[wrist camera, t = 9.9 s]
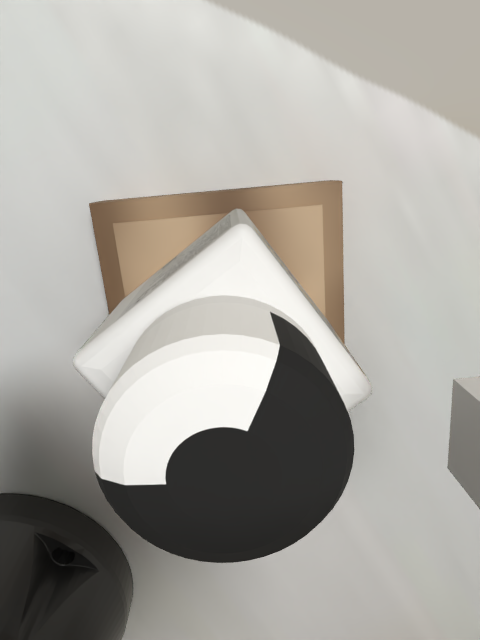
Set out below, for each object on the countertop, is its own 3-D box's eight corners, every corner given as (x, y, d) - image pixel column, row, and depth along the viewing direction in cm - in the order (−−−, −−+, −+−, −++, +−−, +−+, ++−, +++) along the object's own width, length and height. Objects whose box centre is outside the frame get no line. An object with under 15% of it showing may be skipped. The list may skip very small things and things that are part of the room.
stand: (138, 404, 27) (129, 427, 25) (103, 200, 24) (87, 203, 21) (335, 386, 27) (346, 408, 25) (330, 180, 24) (343, 181, 21)
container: (331, 325, 23) (450, 497, 11) (215, 409, 24) (202, 648, 12) (238, 204, 21) (253, 243, 9) (118, 302, 22) (-18, 457, 10)
